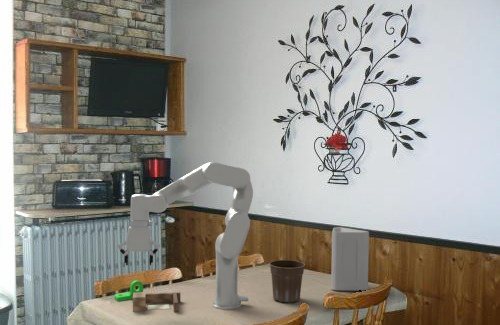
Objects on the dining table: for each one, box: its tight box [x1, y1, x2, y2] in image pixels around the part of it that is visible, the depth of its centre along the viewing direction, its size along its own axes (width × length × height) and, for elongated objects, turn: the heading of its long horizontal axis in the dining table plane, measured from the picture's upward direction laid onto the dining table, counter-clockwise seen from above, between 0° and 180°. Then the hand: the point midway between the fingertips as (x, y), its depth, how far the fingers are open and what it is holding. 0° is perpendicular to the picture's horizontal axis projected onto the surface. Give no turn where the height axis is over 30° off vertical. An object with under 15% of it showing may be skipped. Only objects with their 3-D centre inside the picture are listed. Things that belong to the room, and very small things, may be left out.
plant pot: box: [268, 259, 306, 304], centre depth 245 cm, size 16×16×16 cm
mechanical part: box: [114, 279, 144, 302], centre depth 244 cm, size 12×6×8 cm, turn 123°
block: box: [132, 291, 147, 312], centre depth 228 cm, size 5×8×6 cm, turn 10°
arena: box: [145, 291, 181, 313], centre depth 231 cm, size 16×16×4 cm
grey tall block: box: [330, 226, 370, 291], centre depth 267 cm, size 19×15×28 cm
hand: (138, 264), depth 228 cm, fingers open, 9 cm apart
